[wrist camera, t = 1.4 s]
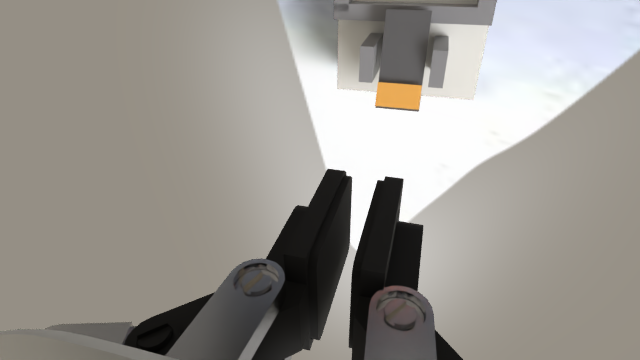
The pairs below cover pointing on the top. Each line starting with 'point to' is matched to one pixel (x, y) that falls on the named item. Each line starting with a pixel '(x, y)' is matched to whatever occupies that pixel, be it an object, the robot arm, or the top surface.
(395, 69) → the breaker lever
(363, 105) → the top surface
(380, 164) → the top surface
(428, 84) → the box
